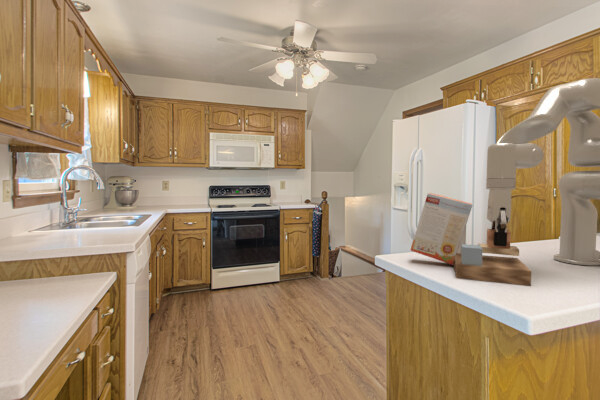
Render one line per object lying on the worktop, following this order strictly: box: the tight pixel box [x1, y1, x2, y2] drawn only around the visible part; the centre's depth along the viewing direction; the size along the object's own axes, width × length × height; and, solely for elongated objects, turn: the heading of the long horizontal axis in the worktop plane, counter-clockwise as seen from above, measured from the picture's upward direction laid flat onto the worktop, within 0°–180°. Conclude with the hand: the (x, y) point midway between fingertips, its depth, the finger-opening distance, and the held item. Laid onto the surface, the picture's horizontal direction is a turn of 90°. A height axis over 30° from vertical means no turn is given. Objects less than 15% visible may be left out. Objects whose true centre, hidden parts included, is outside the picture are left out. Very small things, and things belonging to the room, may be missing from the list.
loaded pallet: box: [477, 228, 520, 257], centre depth 97 cm, size 10×6×7 cm, turn 64°
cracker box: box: [410, 192, 473, 266], centre depth 107 cm, size 14×6×21 cm, turn 63°
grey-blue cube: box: [461, 243, 483, 266], centre depth 93 cm, size 5×5×5 cm
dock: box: [453, 253, 532, 287], centre depth 96 cm, size 18×16×4 cm
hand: (498, 243), depth 97 cm, fingers closed on loaded pallet, 5 cm apart
